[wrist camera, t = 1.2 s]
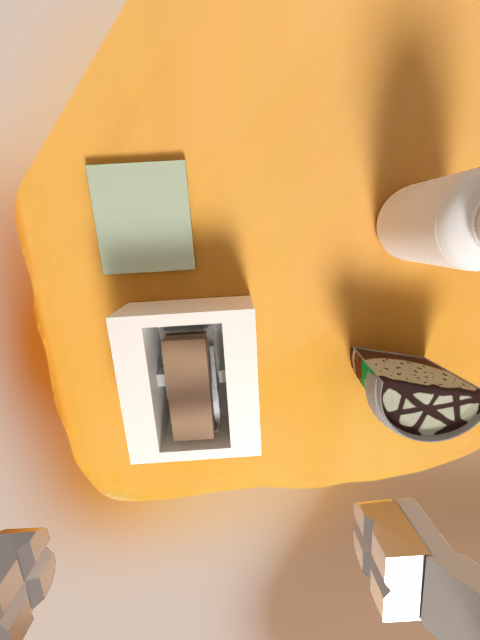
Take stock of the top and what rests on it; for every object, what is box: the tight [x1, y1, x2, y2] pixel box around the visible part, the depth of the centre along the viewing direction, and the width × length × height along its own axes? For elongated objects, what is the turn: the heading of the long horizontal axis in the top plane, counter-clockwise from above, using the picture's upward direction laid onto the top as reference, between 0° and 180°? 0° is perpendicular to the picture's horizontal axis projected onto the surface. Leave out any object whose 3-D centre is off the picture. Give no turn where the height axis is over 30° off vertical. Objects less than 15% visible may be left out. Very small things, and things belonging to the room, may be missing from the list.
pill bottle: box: [376, 167, 480, 271], centre depth 28 cm, size 8×8×15 cm
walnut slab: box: [161, 331, 215, 441], centre depth 33 cm, size 11×4×3 cm, turn 3°
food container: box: [350, 347, 480, 442], centre depth 35 cm, size 12×6×10 cm, turn 81°
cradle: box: [160, 324, 221, 433], centre depth 34 cm, size 12×5×2 cm, turn 3°
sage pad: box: [85, 160, 196, 275], centre depth 34 cm, size 11×10×1 cm
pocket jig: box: [106, 295, 261, 464], centre depth 35 cm, size 16×14×7 cm
